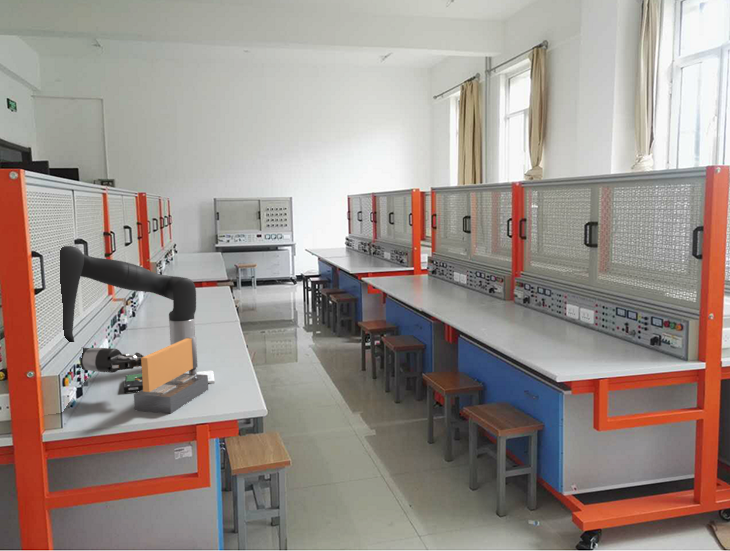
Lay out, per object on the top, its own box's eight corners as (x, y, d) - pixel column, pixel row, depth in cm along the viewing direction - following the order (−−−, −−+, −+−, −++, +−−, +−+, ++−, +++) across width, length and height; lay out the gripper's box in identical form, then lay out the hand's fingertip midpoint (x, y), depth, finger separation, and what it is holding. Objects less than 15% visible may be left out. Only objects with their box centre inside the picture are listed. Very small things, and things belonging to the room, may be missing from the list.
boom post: (192, 386, 193) (191, 367, 193) (198, 386, 193) (197, 367, 192) (188, 388, 191) (187, 369, 190) (194, 388, 191) (193, 369, 190)
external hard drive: (213, 374, 208) (214, 384, 197) (189, 376, 206) (189, 387, 194) (213, 370, 208) (214, 380, 196) (189, 372, 206) (189, 382, 194)
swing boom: (190, 365, 193) (189, 336, 192) (199, 366, 192) (197, 336, 191) (141, 391, 167) (139, 357, 166) (151, 392, 166) (149, 358, 165)
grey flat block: (175, 387, 192) (174, 371, 192) (208, 389, 190) (207, 373, 189) (134, 410, 171) (133, 392, 171) (170, 413, 168) (169, 395, 168)
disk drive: (158, 391, 190) (157, 378, 204) (157, 383, 190) (156, 370, 204) (124, 395, 187) (125, 381, 201) (123, 387, 186) (125, 373, 200)
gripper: (86, 353, 176) (136, 356, 171) (115, 343, 188) (162, 345, 184) (88, 377, 176) (138, 381, 172) (116, 365, 189) (163, 368, 185)
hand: (150, 362), depth 178 cm, fingers closed
